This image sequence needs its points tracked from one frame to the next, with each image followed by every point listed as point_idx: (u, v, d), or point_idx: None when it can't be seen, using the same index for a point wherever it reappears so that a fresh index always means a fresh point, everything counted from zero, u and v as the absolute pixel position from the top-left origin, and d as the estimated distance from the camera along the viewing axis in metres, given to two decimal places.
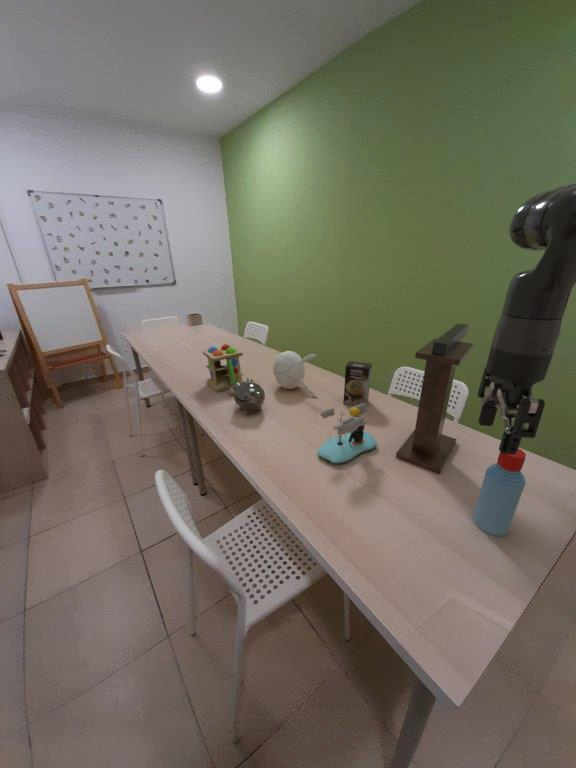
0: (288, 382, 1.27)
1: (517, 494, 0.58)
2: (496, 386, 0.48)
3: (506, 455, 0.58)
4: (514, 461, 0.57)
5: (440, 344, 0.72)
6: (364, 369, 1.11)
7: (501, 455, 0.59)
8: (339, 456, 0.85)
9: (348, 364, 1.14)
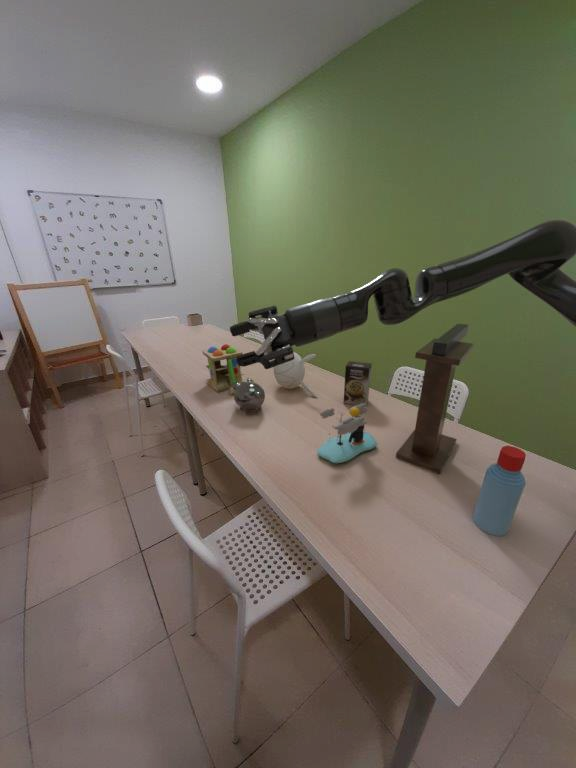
0: (288, 382, 1.27)
1: (517, 494, 0.58)
2: None
3: (506, 455, 0.58)
4: (514, 461, 0.57)
5: (440, 344, 0.72)
6: (364, 369, 1.11)
7: (501, 455, 0.59)
8: (339, 456, 0.85)
9: (348, 364, 1.14)
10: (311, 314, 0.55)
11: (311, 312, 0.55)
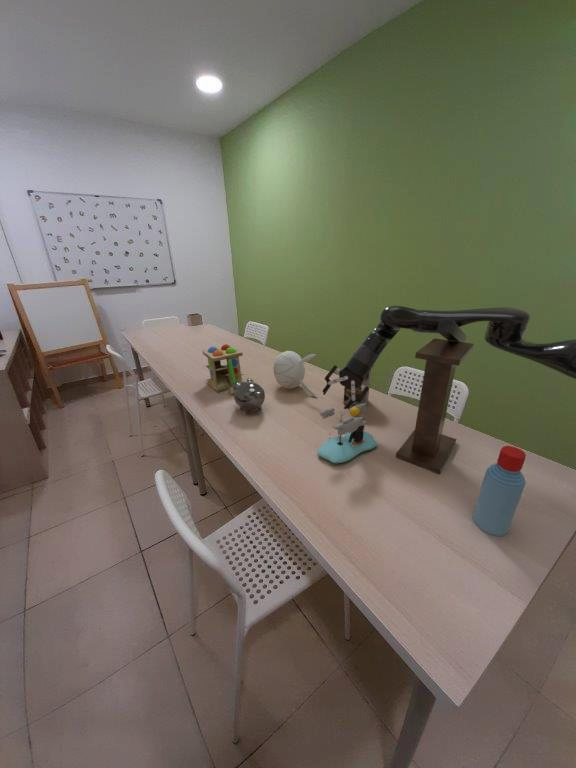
0: (288, 382, 1.27)
1: (517, 494, 0.58)
2: (348, 378, 0.99)
3: (506, 455, 0.58)
4: (514, 461, 0.57)
5: (446, 321, 0.71)
6: None
7: (501, 455, 0.59)
8: (339, 456, 0.85)
9: None
10: None
11: None
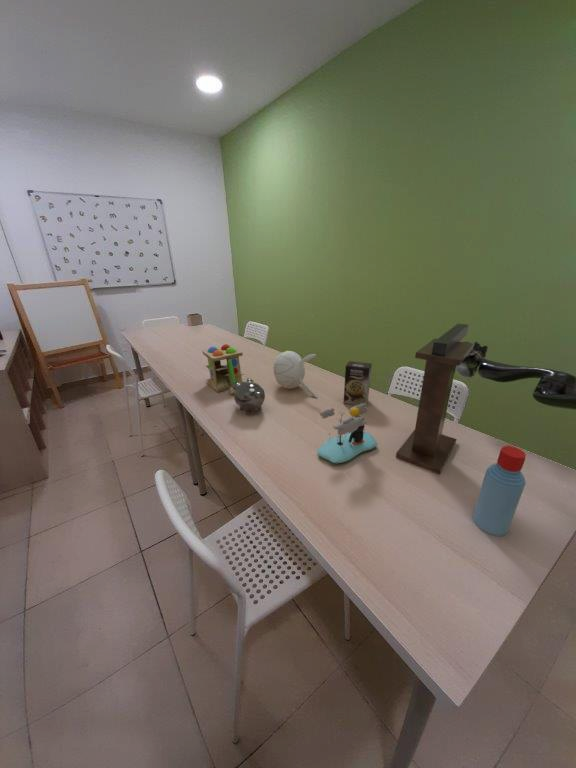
0: (288, 382, 1.27)
1: (517, 494, 0.58)
2: None
3: (506, 455, 0.58)
4: (514, 461, 0.57)
5: (440, 344, 0.72)
6: (364, 369, 1.11)
7: (501, 455, 0.59)
8: (339, 456, 0.85)
9: (348, 364, 1.14)
10: None
11: None
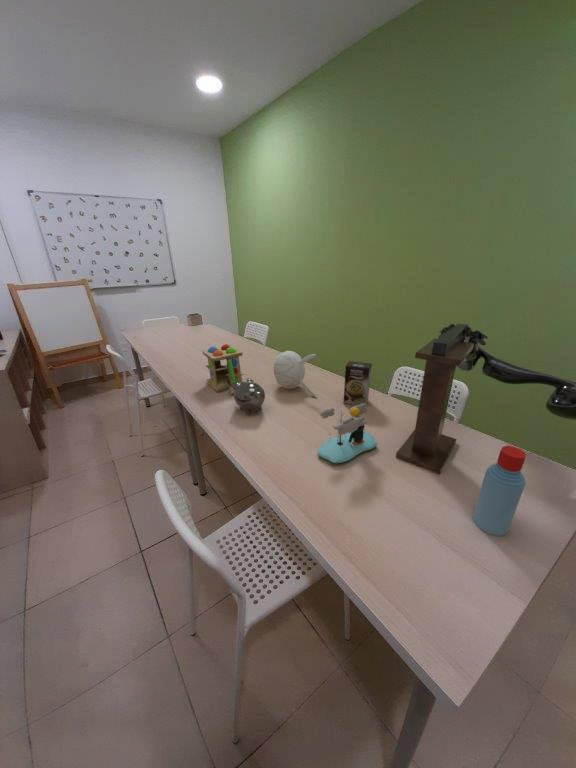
0: (288, 382, 1.27)
1: (517, 494, 0.58)
2: None
3: (506, 455, 0.58)
4: (514, 461, 0.57)
5: (440, 344, 0.72)
6: (364, 369, 1.11)
7: (501, 455, 0.59)
8: (339, 456, 0.85)
9: (348, 364, 1.14)
10: None
11: None
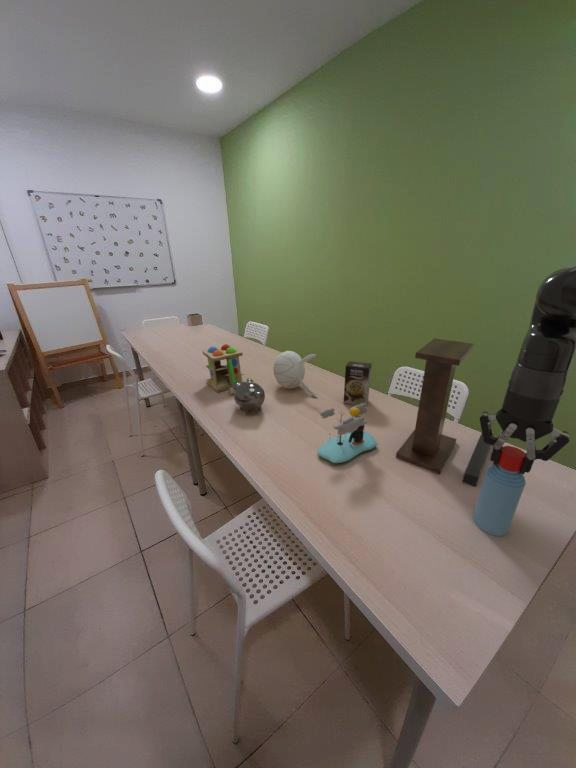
0: (288, 382, 1.27)
1: (517, 494, 0.58)
2: (516, 424, 0.55)
3: (506, 455, 0.58)
4: (514, 461, 0.57)
5: (471, 476, 0.76)
6: (364, 369, 1.11)
7: (501, 455, 0.59)
8: (339, 456, 0.85)
9: (348, 364, 1.14)
10: None
11: None
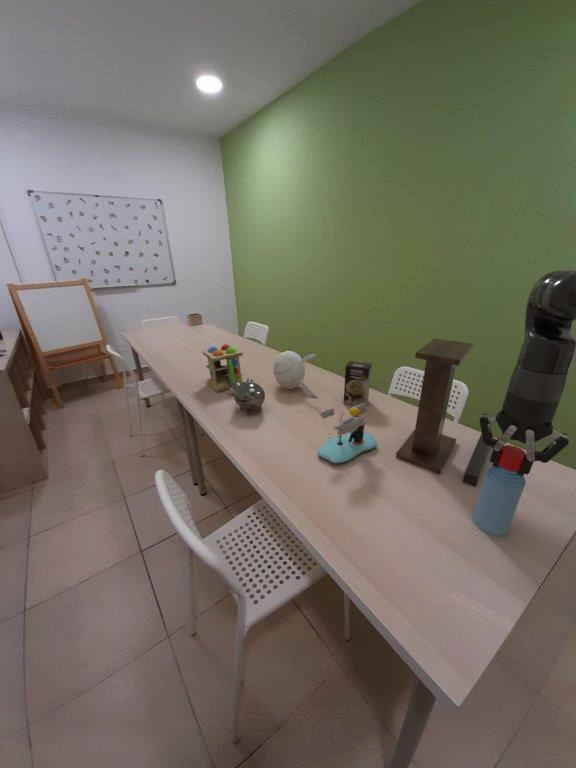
0: (288, 382, 1.27)
1: (517, 494, 0.58)
2: None
3: None
4: None
5: (471, 476, 0.76)
6: (364, 369, 1.11)
7: None
8: (339, 456, 0.85)
9: (348, 364, 1.14)
10: (543, 403, 0.50)
11: (541, 402, 0.50)
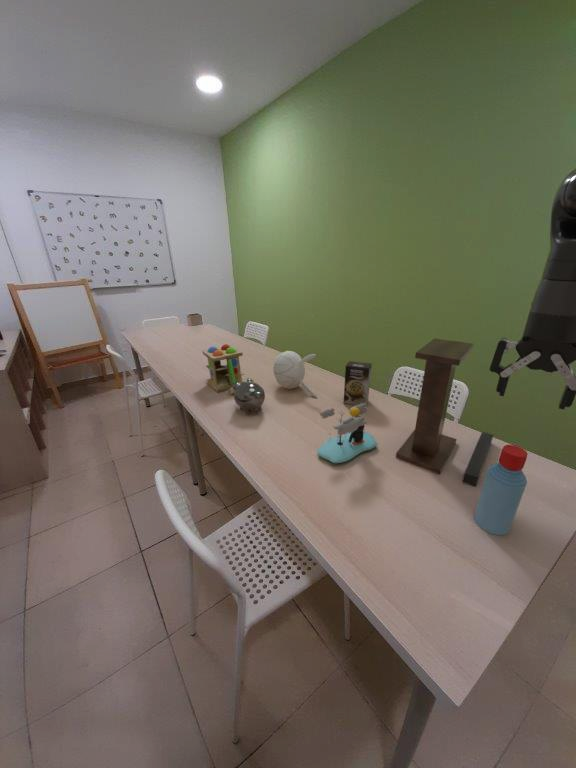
0: (288, 382, 1.27)
1: (518, 494, 0.58)
2: None
3: None
4: None
5: (471, 476, 0.76)
6: (364, 369, 1.11)
7: None
8: (339, 456, 0.85)
9: (348, 364, 1.14)
10: (573, 317, 0.44)
11: (571, 317, 0.44)
